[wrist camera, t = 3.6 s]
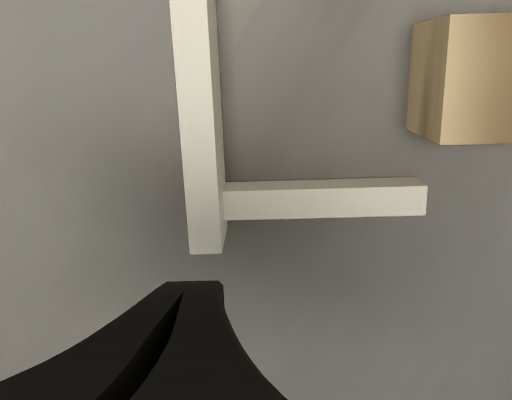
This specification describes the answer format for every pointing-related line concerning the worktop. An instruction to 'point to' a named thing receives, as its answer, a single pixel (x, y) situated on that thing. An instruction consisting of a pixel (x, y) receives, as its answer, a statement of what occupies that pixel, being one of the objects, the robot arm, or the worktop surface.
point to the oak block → (461, 79)
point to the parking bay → (257, 192)
